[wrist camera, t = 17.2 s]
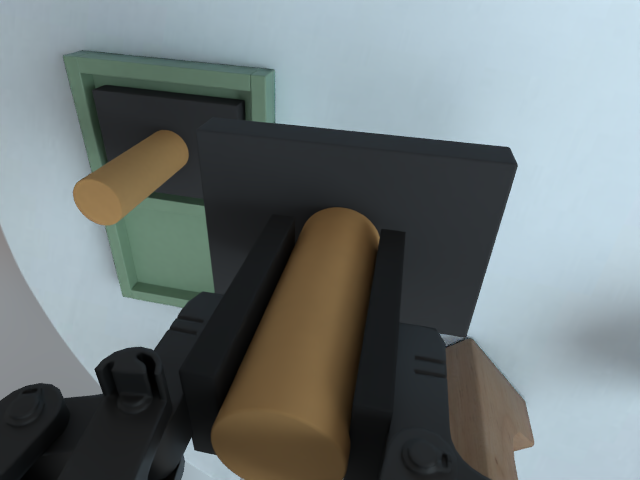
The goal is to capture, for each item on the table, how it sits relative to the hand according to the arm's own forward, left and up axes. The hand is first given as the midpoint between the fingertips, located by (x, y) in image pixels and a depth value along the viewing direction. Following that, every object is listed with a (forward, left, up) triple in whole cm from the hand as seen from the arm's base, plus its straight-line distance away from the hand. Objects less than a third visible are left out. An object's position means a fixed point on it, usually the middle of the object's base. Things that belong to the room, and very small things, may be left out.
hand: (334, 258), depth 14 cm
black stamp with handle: (+3, -14, -16) cm, 21 cm away
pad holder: (+8, -14, -17) cm, 23 cm away
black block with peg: (0, 0, -3) cm, 3 cm away
